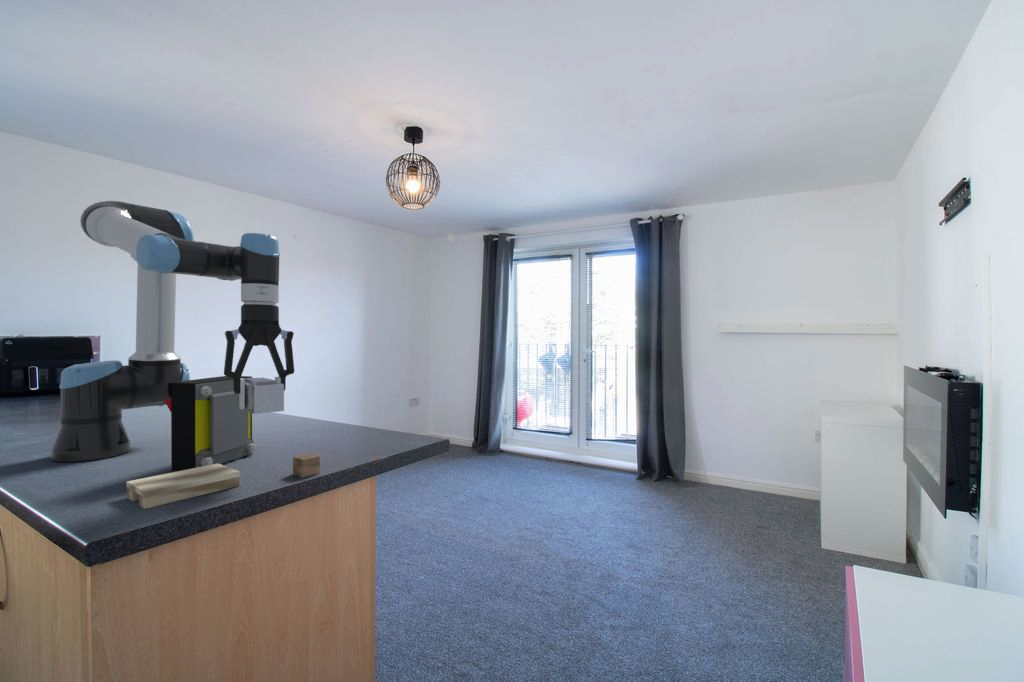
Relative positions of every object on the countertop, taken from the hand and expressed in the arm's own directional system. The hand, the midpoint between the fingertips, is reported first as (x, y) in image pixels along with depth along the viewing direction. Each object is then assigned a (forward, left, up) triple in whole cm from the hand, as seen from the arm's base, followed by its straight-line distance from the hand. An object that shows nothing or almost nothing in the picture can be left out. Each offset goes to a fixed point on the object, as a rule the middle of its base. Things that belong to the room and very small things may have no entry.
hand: (260, 406), depth 108 cm
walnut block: (+9, +6, -15) cm, 18 cm away
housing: (0, 0, 0) cm, 0 cm away
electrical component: (-17, -2, -15) cm, 23 cm away
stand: (+2, -15, -15) cm, 21 cm away
